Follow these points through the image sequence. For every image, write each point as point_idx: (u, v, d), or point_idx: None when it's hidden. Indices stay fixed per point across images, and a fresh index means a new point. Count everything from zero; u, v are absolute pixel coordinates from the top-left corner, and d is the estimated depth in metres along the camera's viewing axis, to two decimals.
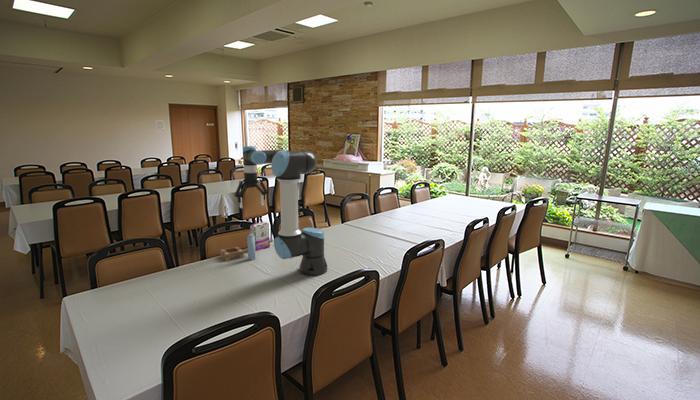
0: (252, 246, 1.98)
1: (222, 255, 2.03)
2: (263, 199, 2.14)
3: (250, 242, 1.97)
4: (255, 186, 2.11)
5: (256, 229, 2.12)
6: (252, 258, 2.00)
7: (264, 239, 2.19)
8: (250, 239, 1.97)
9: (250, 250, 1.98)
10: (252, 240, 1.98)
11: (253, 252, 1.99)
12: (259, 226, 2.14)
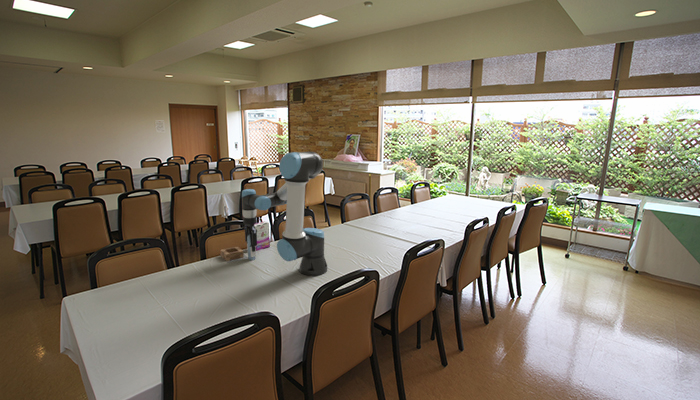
0: None
1: (222, 255, 2.03)
2: (250, 250, 1.97)
3: (250, 242, 1.97)
4: (251, 232, 1.97)
5: None
6: (252, 258, 2.00)
7: (264, 239, 2.19)
8: None
9: None
10: None
11: None
12: (259, 226, 2.14)
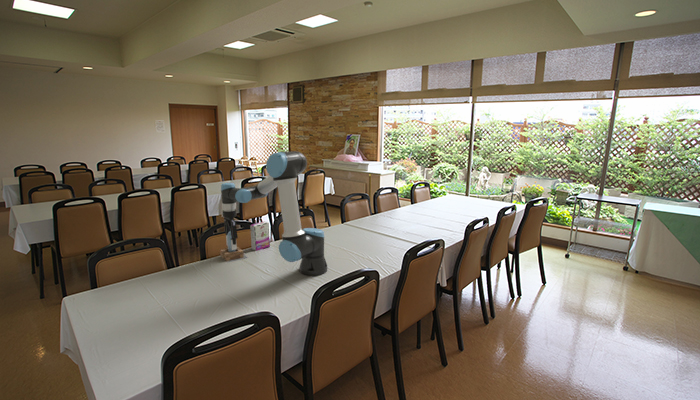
0: None
1: (222, 255, 2.03)
2: (231, 243, 1.98)
3: (230, 239, 2.00)
4: None
5: (256, 229, 2.12)
6: None
7: (264, 239, 2.19)
8: (230, 236, 2.00)
9: (230, 247, 2.01)
10: None
11: None
12: (259, 226, 2.14)
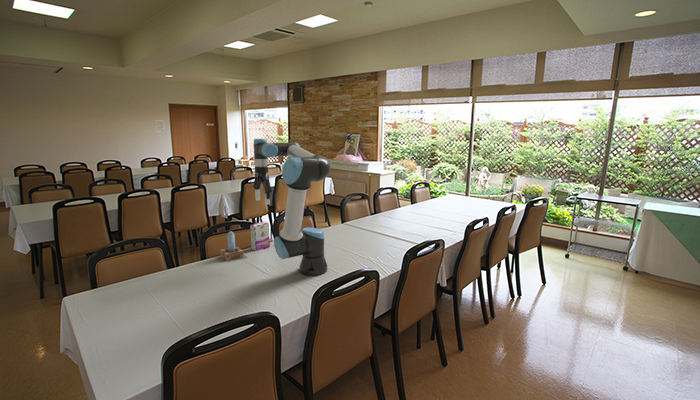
0: (232, 243, 2.01)
1: (222, 255, 2.03)
2: (265, 198, 1.95)
3: (230, 239, 2.00)
4: None
5: (256, 229, 2.12)
6: None
7: (264, 239, 2.19)
8: (230, 236, 2.00)
9: (230, 247, 2.01)
10: (232, 237, 2.00)
11: (233, 249, 2.02)
12: (259, 226, 2.14)
